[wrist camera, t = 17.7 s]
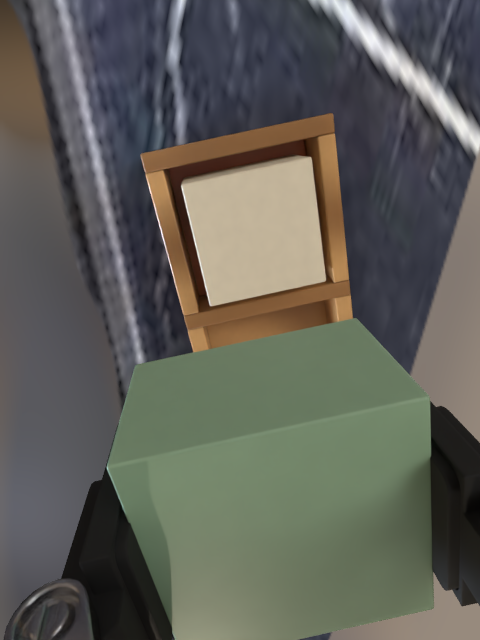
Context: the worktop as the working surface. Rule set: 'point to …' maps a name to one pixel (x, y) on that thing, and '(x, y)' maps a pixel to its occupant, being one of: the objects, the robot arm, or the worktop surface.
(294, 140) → the holder
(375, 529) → the pad
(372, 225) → the worktop surface
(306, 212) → the pad
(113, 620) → the robot arm
